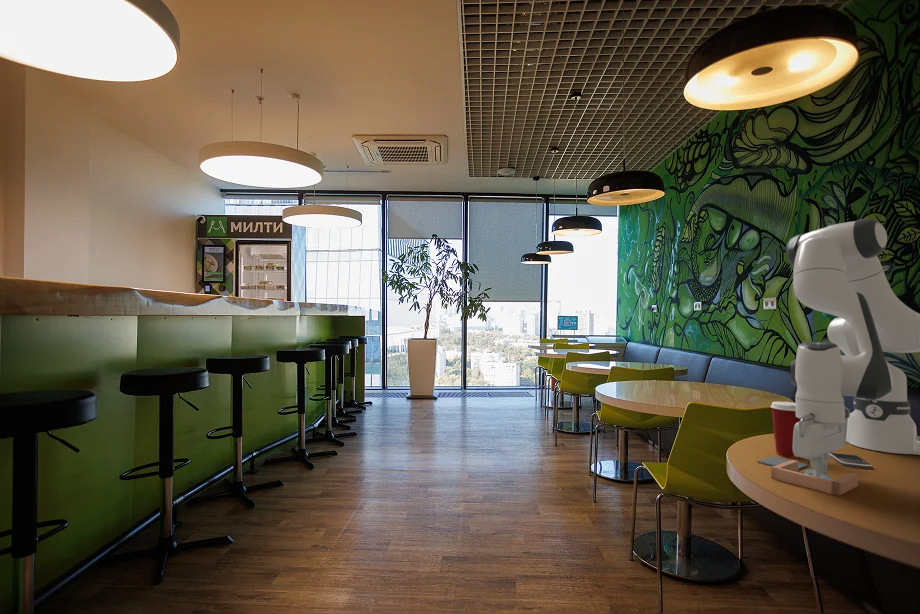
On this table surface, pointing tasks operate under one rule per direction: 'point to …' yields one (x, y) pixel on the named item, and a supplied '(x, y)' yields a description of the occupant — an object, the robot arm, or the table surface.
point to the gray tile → (779, 462)
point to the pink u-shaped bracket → (813, 479)
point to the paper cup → (784, 427)
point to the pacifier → (817, 470)
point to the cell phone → (850, 460)
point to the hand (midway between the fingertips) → (820, 472)
